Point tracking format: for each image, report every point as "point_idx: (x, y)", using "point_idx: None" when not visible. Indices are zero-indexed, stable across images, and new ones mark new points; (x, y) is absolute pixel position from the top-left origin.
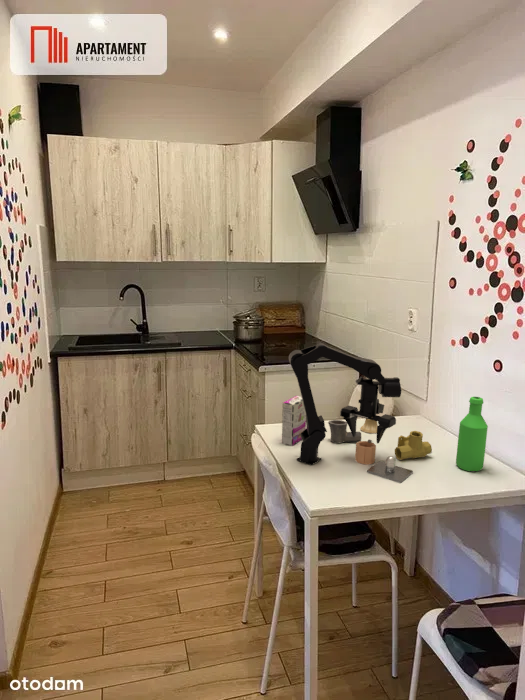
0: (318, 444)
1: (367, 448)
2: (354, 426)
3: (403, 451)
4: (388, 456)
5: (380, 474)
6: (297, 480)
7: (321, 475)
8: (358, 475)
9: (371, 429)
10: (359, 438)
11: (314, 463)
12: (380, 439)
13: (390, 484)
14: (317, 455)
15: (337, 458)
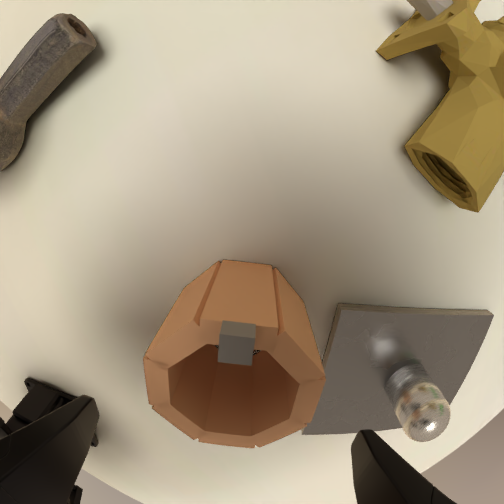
0: (78, 500)
1: (273, 439)
2: (45, 482)
3: (488, 196)
4: (421, 435)
5: None
6: (146, 501)
7: (171, 481)
8: (278, 454)
9: None
10: (78, 54)
11: (94, 434)
12: (390, 454)
13: (402, 440)
14: (61, 406)
15: (109, 361)
